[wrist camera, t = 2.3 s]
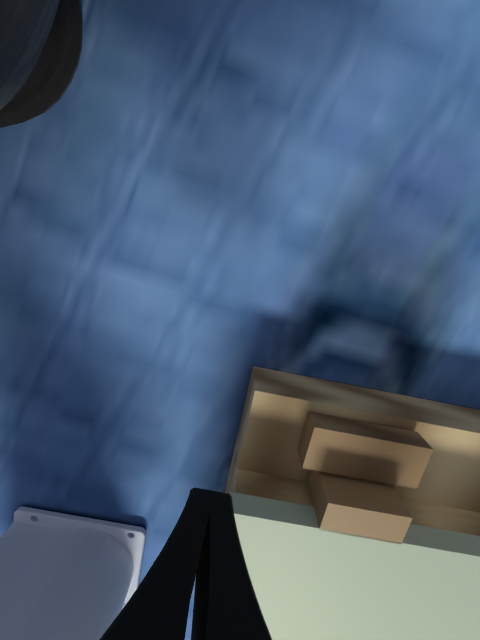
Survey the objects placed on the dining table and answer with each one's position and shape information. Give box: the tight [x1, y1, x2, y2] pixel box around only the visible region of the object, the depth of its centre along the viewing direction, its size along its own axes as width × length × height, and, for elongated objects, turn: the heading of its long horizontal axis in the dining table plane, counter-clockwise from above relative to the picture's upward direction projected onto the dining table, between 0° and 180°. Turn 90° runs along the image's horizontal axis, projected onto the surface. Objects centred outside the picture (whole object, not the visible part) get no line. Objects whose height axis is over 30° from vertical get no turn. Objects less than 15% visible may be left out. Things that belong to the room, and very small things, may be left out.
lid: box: [230, 470, 480, 640], centre depth 16 cm, size 17×14×5 cm
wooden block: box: [297, 412, 434, 489], centre depth 16 cm, size 6×2×1 cm, turn 79°
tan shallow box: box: [224, 366, 480, 536], centre depth 19 cm, size 16×17×5 cm
